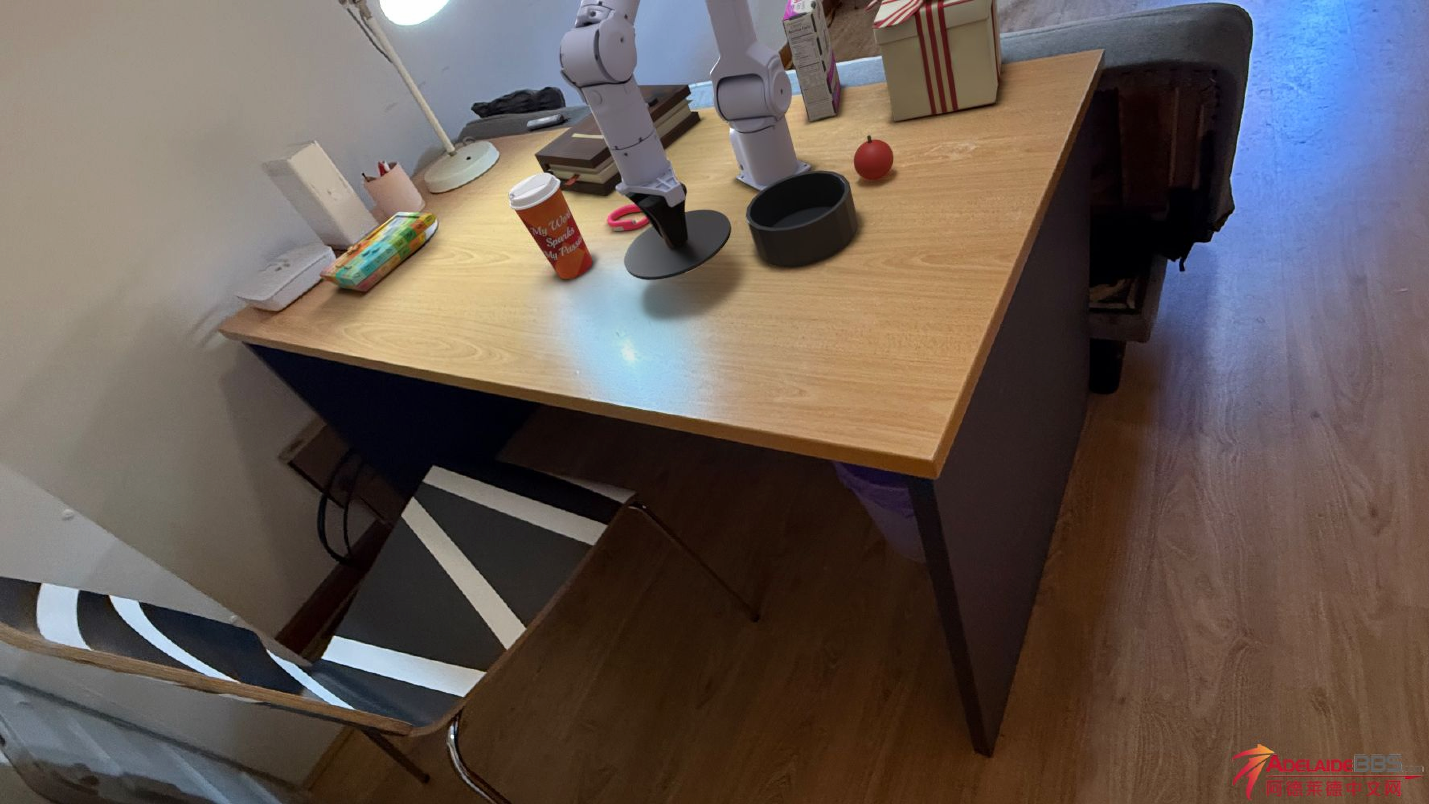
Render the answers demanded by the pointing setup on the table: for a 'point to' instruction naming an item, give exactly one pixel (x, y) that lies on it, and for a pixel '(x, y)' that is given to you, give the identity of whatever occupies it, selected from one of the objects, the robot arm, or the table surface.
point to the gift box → (938, 54)
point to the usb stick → (545, 121)
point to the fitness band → (626, 223)
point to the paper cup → (551, 224)
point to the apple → (873, 159)
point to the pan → (803, 218)
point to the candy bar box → (812, 57)
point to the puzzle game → (379, 251)
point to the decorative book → (586, 154)
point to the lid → (678, 247)
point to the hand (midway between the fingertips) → (674, 238)
